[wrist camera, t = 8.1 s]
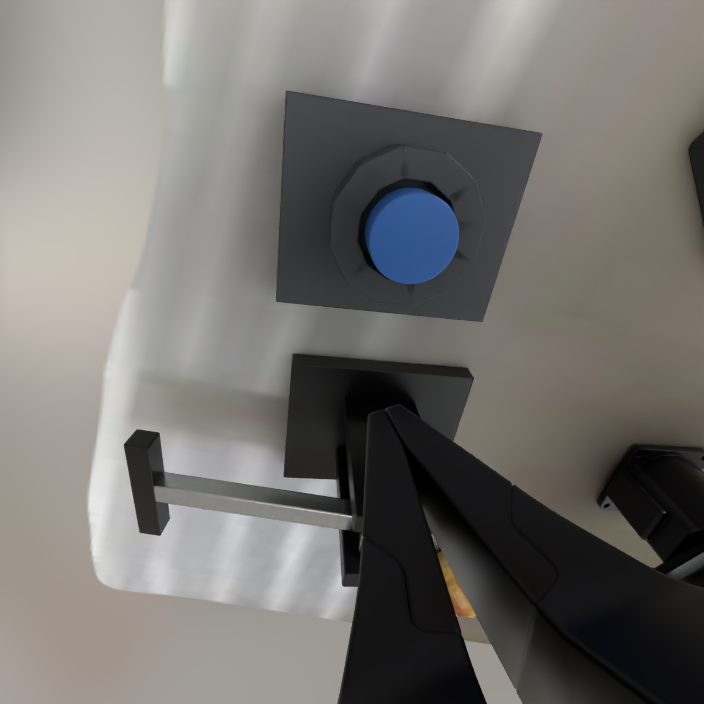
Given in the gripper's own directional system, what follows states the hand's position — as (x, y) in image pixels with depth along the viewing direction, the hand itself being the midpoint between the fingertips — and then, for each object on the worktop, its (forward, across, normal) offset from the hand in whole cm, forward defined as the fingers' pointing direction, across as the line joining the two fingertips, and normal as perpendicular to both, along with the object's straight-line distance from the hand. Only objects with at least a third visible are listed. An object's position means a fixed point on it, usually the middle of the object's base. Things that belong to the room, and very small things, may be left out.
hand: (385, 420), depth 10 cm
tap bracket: (+12, -1, +12) cm, 17 cm away
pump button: (+9, -4, -1) cm, 10 cm away
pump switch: (+13, -5, 0) cm, 14 cm away
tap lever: (+7, +5, +10) cm, 13 cm away
